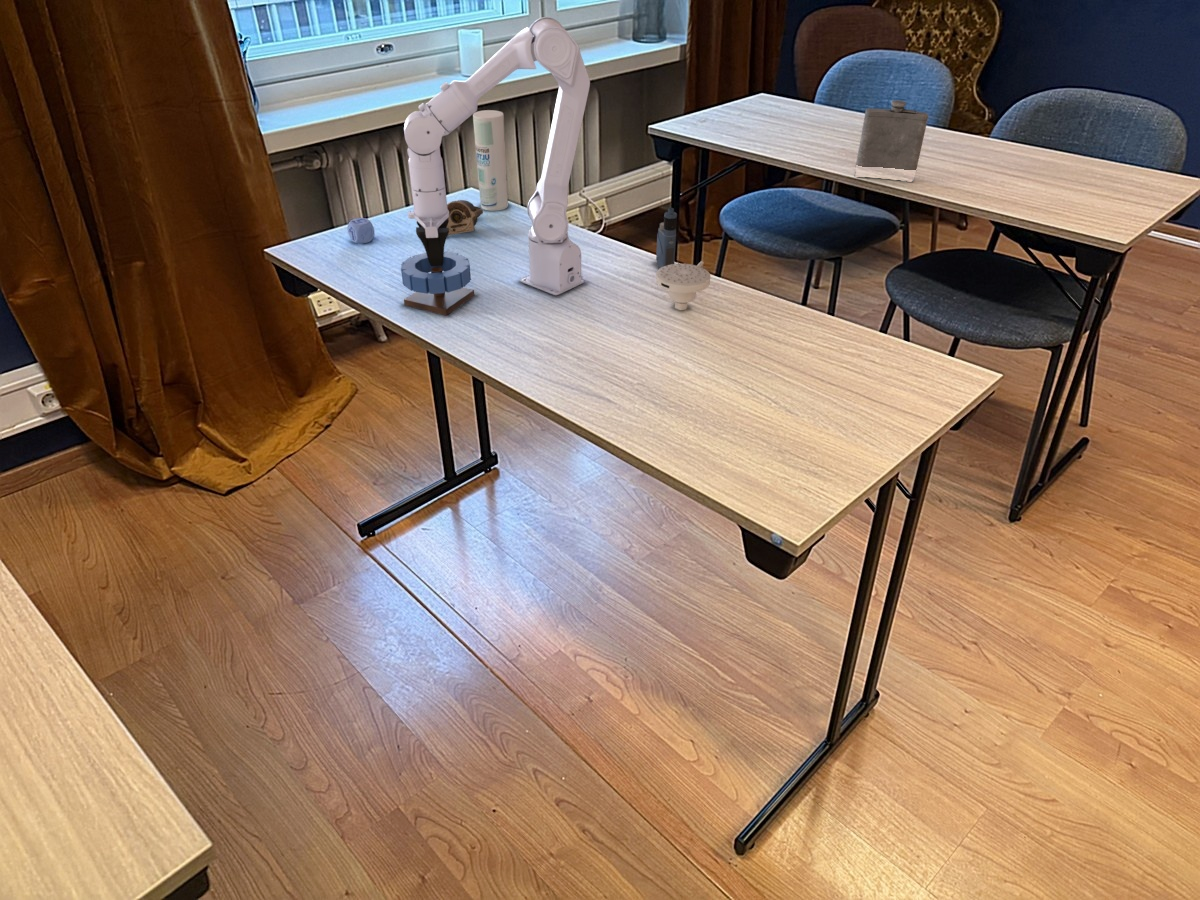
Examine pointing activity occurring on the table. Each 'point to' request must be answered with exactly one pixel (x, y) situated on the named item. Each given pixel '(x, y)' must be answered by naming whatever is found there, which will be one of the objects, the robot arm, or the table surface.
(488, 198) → the spray can
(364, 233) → the decorative dice
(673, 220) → the vaping device
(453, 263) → the ring
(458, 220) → the mechanical counter
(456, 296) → the brown peg stand
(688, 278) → the showerhead
